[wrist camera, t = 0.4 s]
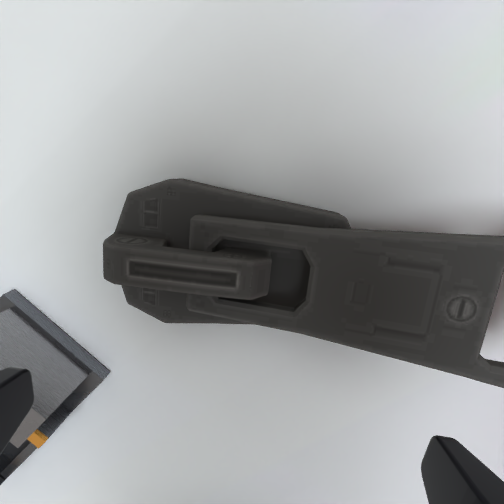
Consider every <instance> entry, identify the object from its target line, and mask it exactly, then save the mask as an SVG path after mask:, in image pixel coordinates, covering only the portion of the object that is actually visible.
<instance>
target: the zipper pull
mask: <svg viewBox="0 0 504 504" xmlns="http://www.w3.org/2000/svg"><path fill="white" fill-rule="evenodd" d="M103 271H104V279H106V280H107V281H109V282H111V283H114V284H119V285H122V288H123V291H124V294H125V297H126V300H127V302H128V304H130V305H132V306H134V307H136V308H138V309H140V310H141V311H143V312H145V313H147V314H149V315H151V316H153V317H155V318H157V319H159V320H161V321H162V322H165V323H220V324H256V325H261V326H266V327H271V328H276V329H281V330H286V331H291V332H296V333H300V334H305V335H308V336H312V337H316V338H320V339H324V340H327V341H331V342H335V343H339V344H342V345H346V346H350V347H354V348H358V349H361V350H365V351H369V352H373V353H376V354H380V355H384V356H388V357H392V358H395V359H399V360H403V361H407V362H410V363H414V364H418V365H422V366H426V367H429V368H433V369H437V370H441V371H444V372H448V373H452V374H456V375H460V376H463V377H467V378H470V379H474V380H477V381H480V382H483V383H487V384H491V385H495V386H498V387H502V388H504V362H499V361H493V360H488V359H484V358H483V357H482V356H481V355H480V354H479V353H480V350H481V347H482V343H483V340H484V336H485V333H486V329H487V326H488V323H489V319H490V316H491V312H492V309H493V305H494V302H495V299H496V295H497V292H498V288H499V285H500V281H501V278H502V274H503V271H504V236H488V235H467V234H446V233H424V232H403V231H381V230H360V229H351V228H350V225H349V223H348V220H347V219H346V218H345V217H344V216H342V215H340V214H339V213H336V212H331V211H327V210H322V209H318V208H313V207H308V206H303V205H299V204H294V203H289V202H285V201H280V200H275V199H270V198H266V197H261V196H256V195H252V194H247V193H242V192H237V191H233V190H228V189H224V188H219V187H215V186H211V185H207V184H202V183H198V182H194V181H190V180H185V179H169V180H165V181H162V182H159V183H156V184H153V185H150V186H147V187H144V188H141V189H138V190H135V191H132V192H130V193H129V194H128V195H127V198H126V201H125V204H124V207H123V210H122V213H121V216H120V219H119V221H118V224H117V227H116V230H115V232H114V234H113V235H111V236H110V237H108V238H107V239H106V240H105V241H104V243H103Z"/></svg>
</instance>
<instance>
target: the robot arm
mask: <svg viewBox="0 0 504 504" xmlns="http://www.w3.org/2000/svg"><path fill="white" fill-rule="evenodd" d="M33 402H34V390H33V382H32V374H31V372H30V371H29V370H28V369H25V368H19V367H8V368H5V369H2V370H0V455H1V453H2V452H3V450H4V449H5V447H6V446H7V444H8V443H9V441H10V440H11V438H12V437H13V435H14V434H15V432H16V431H17V429H18V428H19V426H20V425H21V423H22V422H23V420H24V419H25V417H26V415H27V414H28V412H29V411H30V409H31V407H32V405H33ZM421 472H422V478H423V482H424V486H425V490H426V494H427V498H428V502H429V504H504V482H503V481H502V480H501V479H500V478H499V477H498V476H497V475H495V474H494V473H493V472H492V471H491V470H490V469H489V468H488V467H486V466H485V465H484V464H483V463H482V462H481V461H480V460H479V459H477V458H476V457H475V456H474V455H473V454H472V453H471V452H469V451H468V450H467V449H466V448H465V447H464V446H463V445H462V444H460V443H459V442H458V441H457V440H455V439H453V438H450V437H444V436H437V435H436V436H433V437H432V438H431V440H430V442H429V445H428V447H427V450H426V452H425V455H424V458H423V460H422V464H421Z"/></svg>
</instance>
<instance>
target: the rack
mask: <svg viewBox="0 0 504 504" xmlns="http://www.w3.org/2000/svg"><path fill="white" fill-rule="evenodd" d="M8 367H19V368H25V369H28V370H29V371H30V372H31V374H32V382H33V390H34V402H33V405H32V407H31V409H30V411H29V412H28V414H27V415H26V417H25V419H24V420H23V422H22V423H21V425H20V426H19V428H18V429H17V431H16V432H15V434H14V435H13V437H12V438H11V440H10V441H9V443H8V444H7V446H6V447H5V449H4V450H3V452H2V453H1V455H0V485H1V484H2V483H3V482H4V481H5V479H6V478H7V477H8V476H9V475H10V474H11V473H12V472H13V471H14V470H15V469H16V468H17V467H18V466H19V465H20V464H21V463H22V462H23V461H24V460H25V459H26V458H27V457H28V456H29V455H30V454H31V453H32V452H33V451H34V450H35V449H36V448H40V447H41V446H42V445H43V444H44V443H45V442H46V440H47V439H48V438H49V437H50V436H51V435H52V434H53V432H54V431H55V430H56V429H57V428H58V427H59V426H60V424H61V423H62V422H63V421H64V420H65V419H66V418H67V416H68V415H69V414H70V413H71V412H72V411H73V410H74V409H75V408H76V407H77V406H78V405H79V404H80V403H81V402H82V401H83V400H84V399H85V398H86V397H87V396H88V395H89V394H90V393H91V392H92V391H93V390H94V389H95V388H96V387H97V386H98V385H99V384H100V383H101V382H102V381H103V380H104V379H105V377H106V376H107V375H108V374H109V373H110V371H109V370H108V369H107V368H105V367H104V366H103V365H102V364H101V363H100V362H99V361H97V360H96V359H95V358H94V357H93V356H92V355H90V354H89V353H88V352H87V351H86V350H85V349H83V348H82V347H81V346H80V345H79V344H78V343H76V342H75V341H74V340H73V339H72V338H71V337H69V336H68V335H67V334H66V333H65V332H64V331H63V330H61V329H60V328H59V327H58V326H57V325H56V324H54V323H53V322H52V321H51V320H50V319H49V318H47V317H46V316H45V315H44V314H43V313H42V312H40V311H39V310H38V309H37V308H36V307H35V306H33V305H32V304H31V303H30V302H29V301H28V300H27V299H25V298H24V297H23V296H22V295H21V294H20V293H18V292H17V291H16V290H15V289H14V290H12V291H10V292H7V293H5V294H3V295H2V296H1V297H0V370H2V369H5V368H8Z"/></svg>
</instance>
